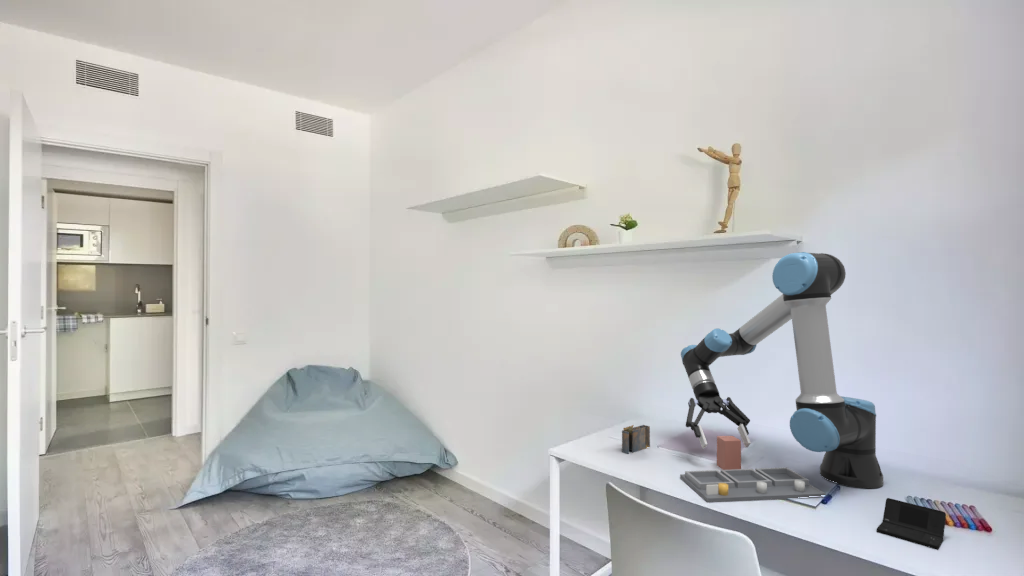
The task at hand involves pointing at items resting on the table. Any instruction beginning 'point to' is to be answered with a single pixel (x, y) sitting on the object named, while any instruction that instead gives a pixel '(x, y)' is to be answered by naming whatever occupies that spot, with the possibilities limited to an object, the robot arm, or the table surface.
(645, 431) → the dark grey upright slab
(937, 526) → the handheld gaming console
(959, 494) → the table surface
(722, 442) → the salmon pink square prism
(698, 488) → the grey compartment tray
